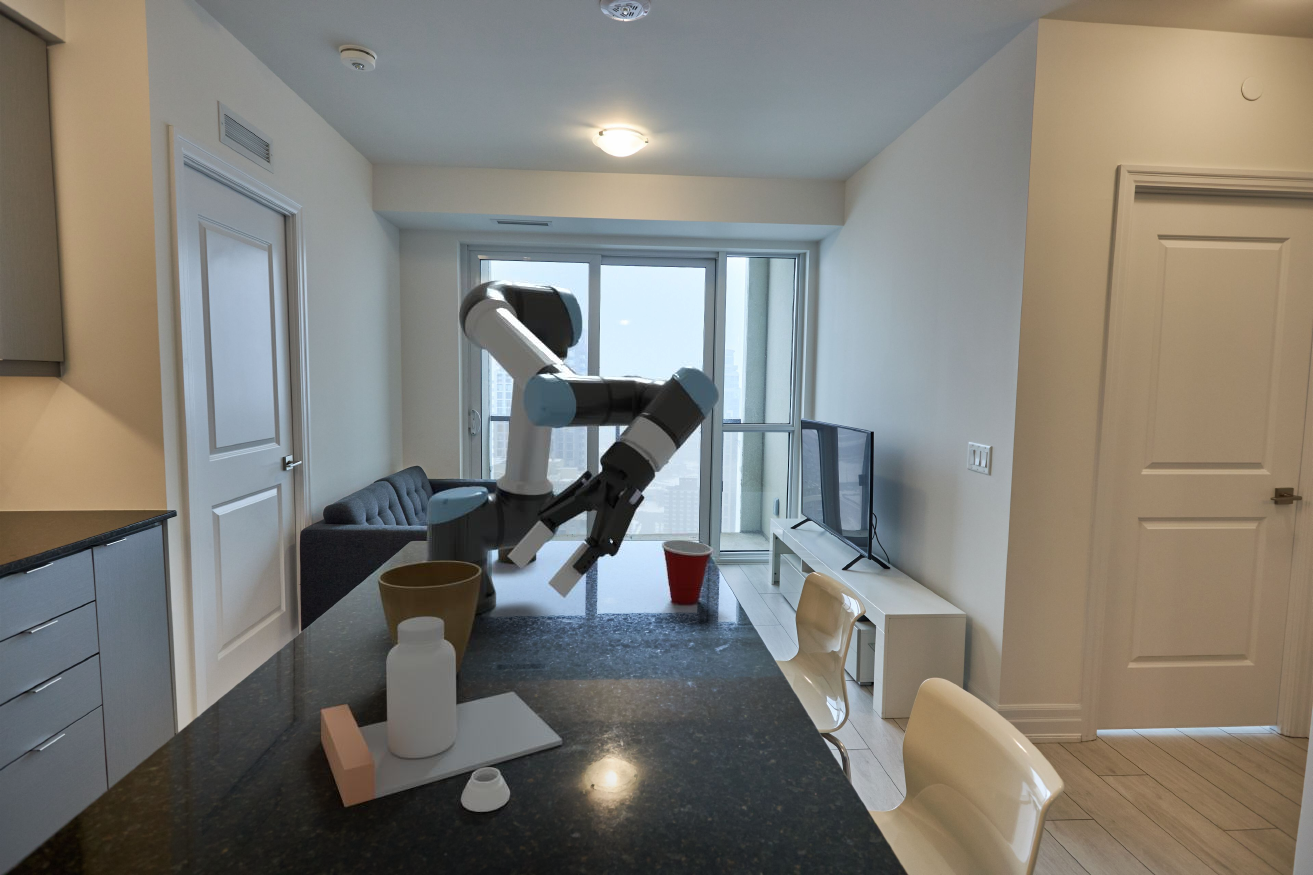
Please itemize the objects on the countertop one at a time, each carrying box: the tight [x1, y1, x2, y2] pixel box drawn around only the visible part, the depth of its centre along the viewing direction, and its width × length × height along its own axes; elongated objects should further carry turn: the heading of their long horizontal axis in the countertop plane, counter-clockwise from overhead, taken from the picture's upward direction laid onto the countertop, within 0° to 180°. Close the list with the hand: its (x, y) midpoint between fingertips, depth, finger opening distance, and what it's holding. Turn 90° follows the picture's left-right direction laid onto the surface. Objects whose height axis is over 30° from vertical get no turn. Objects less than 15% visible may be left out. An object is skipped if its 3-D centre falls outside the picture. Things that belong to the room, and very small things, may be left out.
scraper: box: [320, 691, 563, 808], centre depth 86 cm, size 16×25×4 cm, turn 124°
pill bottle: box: [385, 617, 457, 758], centre depth 84 cm, size 8×8×15 cm
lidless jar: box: [460, 766, 511, 813], centre depth 75 cm, size 5×3×5 cm
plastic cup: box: [661, 539, 714, 606], centre depth 146 cm, size 11×11×12 cm
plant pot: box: [377, 561, 482, 676], centre depth 106 cm, size 15×15×16 cm
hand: (533, 576), depth 91 cm, fingers open, 13 cm apart
